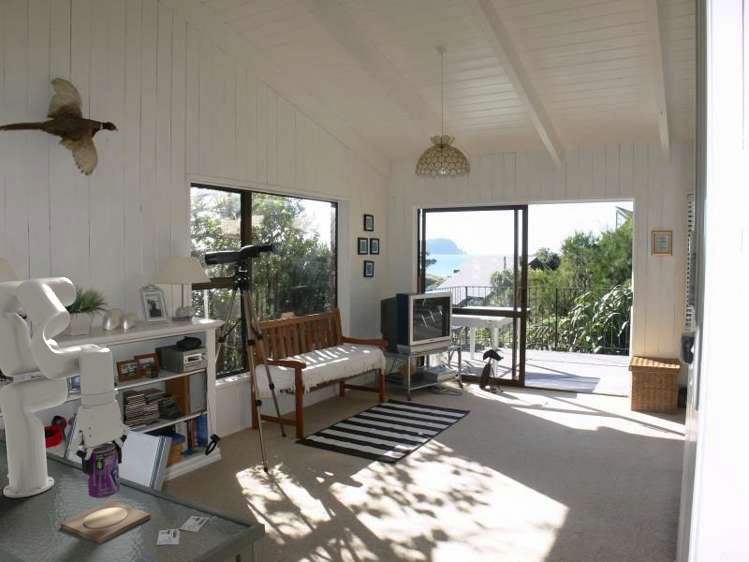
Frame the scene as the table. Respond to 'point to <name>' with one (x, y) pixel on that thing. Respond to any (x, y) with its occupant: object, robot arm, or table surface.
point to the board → (105, 521)
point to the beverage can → (104, 471)
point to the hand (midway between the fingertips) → (102, 467)
